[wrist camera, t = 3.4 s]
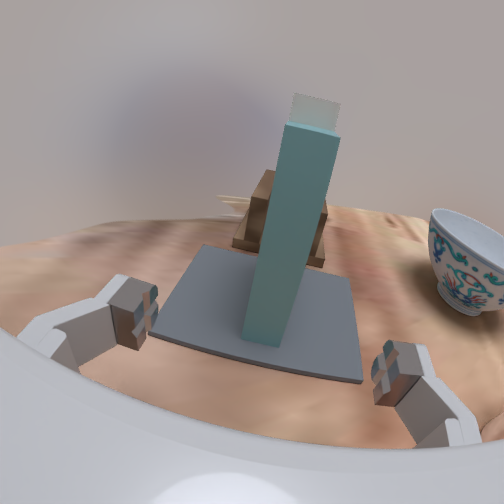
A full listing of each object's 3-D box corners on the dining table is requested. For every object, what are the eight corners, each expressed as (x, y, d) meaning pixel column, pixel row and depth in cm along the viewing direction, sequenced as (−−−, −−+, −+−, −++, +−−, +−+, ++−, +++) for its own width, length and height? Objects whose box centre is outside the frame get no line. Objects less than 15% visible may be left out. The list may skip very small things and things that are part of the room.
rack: (232, 246, 30) (240, 193, 27) (251, 208, 39) (258, 167, 36) (322, 267, 29) (338, 216, 26) (319, 223, 39) (329, 184, 36)
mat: (148, 334, 18) (147, 330, 18) (203, 248, 28) (203, 244, 28) (360, 383, 17) (363, 380, 17) (347, 281, 28) (348, 278, 27)
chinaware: (471, 359, 20) (519, 288, 16) (382, 266, 32) (406, 202, 28) (519, 324, 25) (549, 273, 21) (449, 260, 37) (469, 212, 33)
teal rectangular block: (240, 338, 19) (291, 90, 12) (261, 266, 27) (297, 95, 19) (278, 347, 19) (348, 104, 11) (288, 273, 26) (331, 103, 19)
